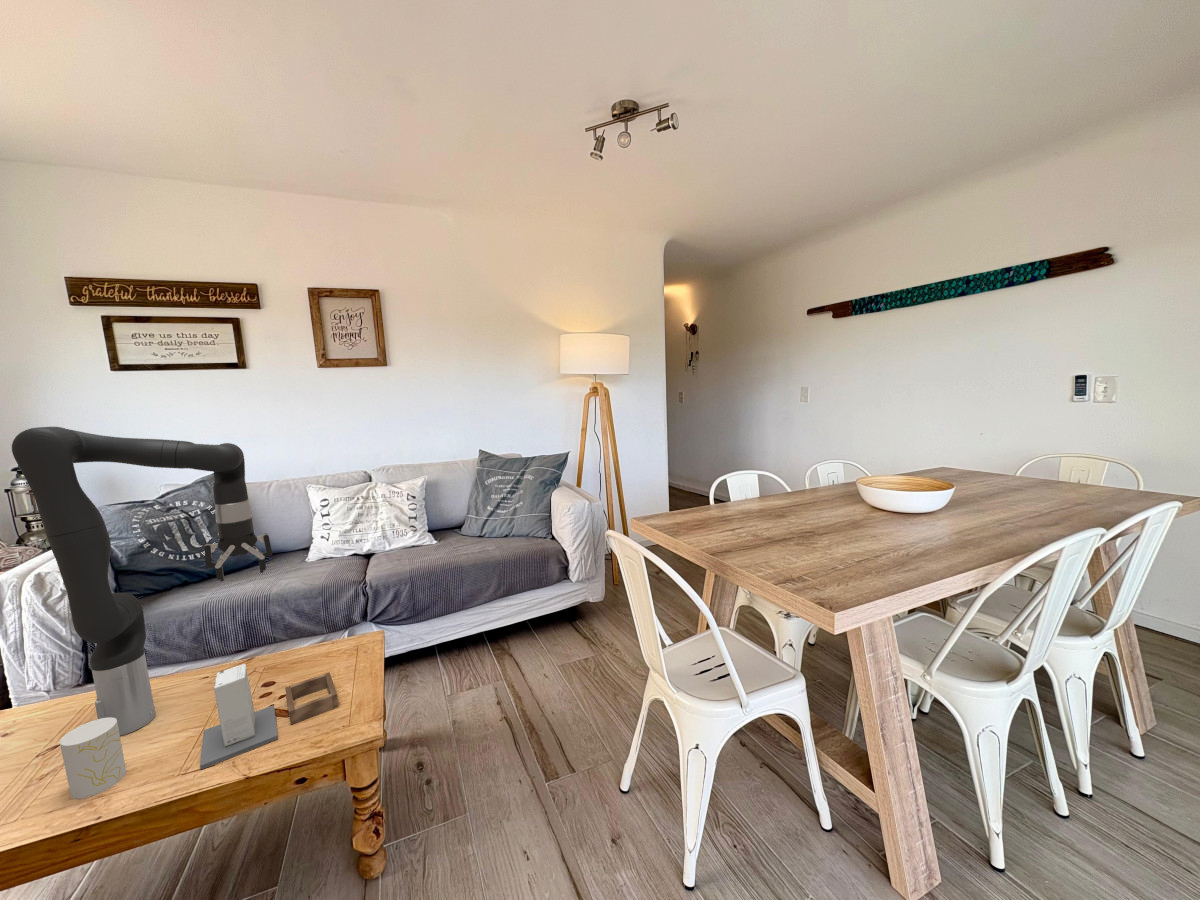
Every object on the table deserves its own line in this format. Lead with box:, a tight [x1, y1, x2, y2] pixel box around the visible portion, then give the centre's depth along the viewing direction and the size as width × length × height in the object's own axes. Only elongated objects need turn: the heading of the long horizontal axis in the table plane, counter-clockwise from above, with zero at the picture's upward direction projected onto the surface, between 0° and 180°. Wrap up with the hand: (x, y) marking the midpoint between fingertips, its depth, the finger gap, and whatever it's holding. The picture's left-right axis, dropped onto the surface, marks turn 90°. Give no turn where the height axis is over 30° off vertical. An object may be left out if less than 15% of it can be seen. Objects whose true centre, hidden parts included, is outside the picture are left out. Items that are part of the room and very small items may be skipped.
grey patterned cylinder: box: [59, 717, 127, 800], centre depth 99 cm, size 8×8×12 cm
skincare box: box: [213, 663, 256, 746], centre depth 111 cm, size 8×6×15 cm
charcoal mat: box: [199, 704, 279, 771], centre depth 112 cm, size 14×14×1 cm
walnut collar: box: [284, 672, 339, 726], centre depth 123 cm, size 10×12×4 cm
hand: (242, 576), depth 127 cm, fingers open, 8 cm apart
